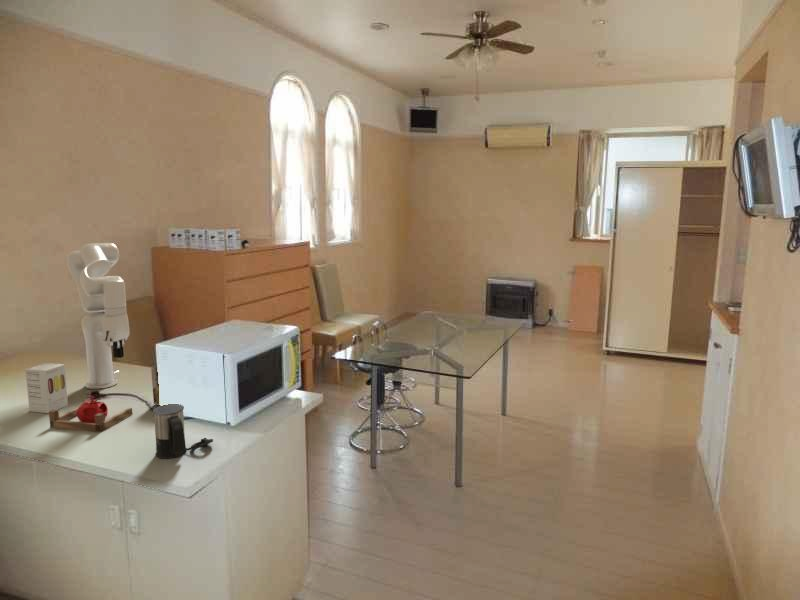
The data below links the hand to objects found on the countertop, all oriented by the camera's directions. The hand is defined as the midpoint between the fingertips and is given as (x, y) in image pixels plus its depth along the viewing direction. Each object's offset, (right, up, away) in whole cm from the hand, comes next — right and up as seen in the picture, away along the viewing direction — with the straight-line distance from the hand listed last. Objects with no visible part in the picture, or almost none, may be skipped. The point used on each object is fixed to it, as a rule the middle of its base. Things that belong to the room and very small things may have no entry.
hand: (118, 356), depth 212 cm
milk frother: (+40, -27, -36) cm, 60 cm away
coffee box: (+17, -20, +4) cm, 27 cm away
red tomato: (-3, -22, -13) cm, 26 cm away
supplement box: (-26, -20, -2) cm, 33 cm away
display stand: (-3, -22, -13) cm, 26 cm away
